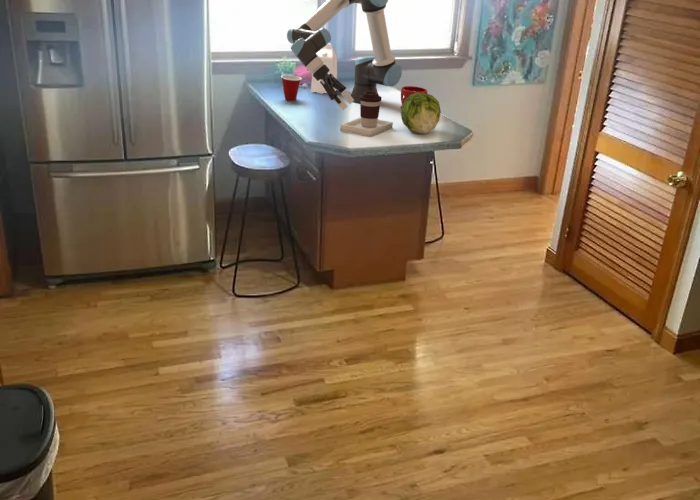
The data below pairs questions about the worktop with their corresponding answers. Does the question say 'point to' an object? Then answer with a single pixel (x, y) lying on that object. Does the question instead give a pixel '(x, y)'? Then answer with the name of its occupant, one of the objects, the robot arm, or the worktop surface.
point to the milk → (330, 61)
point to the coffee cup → (369, 108)
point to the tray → (357, 128)
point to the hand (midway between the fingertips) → (348, 105)
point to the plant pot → (410, 92)
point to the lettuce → (420, 113)
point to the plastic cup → (290, 86)
